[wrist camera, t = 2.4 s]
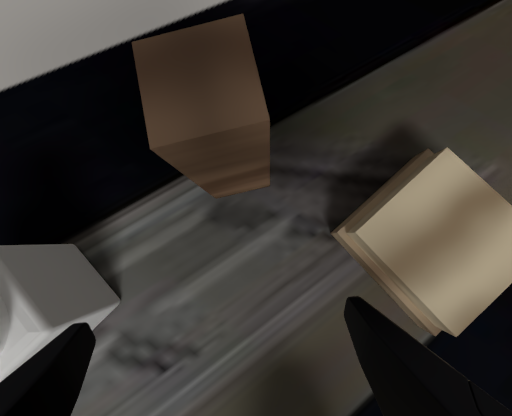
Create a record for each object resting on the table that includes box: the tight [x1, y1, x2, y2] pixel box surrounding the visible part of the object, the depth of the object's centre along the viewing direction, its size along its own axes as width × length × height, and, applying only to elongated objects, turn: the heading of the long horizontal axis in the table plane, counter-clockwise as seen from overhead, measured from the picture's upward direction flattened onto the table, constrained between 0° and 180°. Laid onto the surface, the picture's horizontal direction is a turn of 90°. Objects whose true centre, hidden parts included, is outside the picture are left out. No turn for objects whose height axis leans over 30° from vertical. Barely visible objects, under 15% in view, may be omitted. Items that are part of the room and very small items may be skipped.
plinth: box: [331, 148, 512, 337], centre depth 18 cm, size 10×10×4 cm
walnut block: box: [132, 14, 270, 198], centre depth 16 cm, size 5×5×12 cm
